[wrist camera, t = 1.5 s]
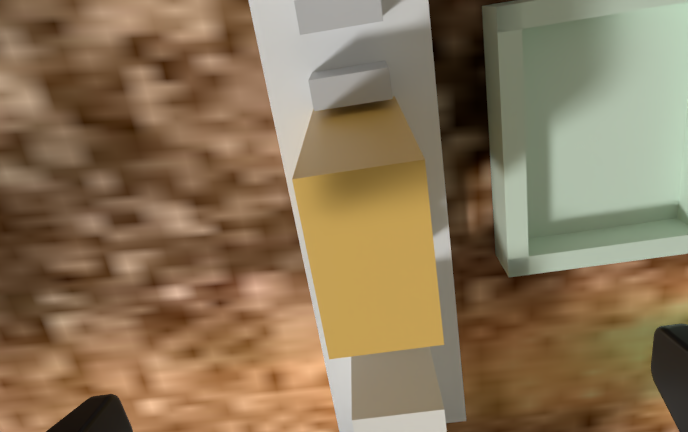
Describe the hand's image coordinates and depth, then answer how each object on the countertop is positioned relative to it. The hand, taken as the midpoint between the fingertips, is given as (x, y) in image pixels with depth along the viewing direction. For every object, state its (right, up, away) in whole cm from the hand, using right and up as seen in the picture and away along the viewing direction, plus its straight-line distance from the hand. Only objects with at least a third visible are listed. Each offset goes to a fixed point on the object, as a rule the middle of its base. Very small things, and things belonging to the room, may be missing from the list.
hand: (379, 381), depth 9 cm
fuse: (+2, -4, +15) cm, 15 cm away
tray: (+9, +6, +12) cm, 16 cm away
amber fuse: (0, +5, +11) cm, 12 cm away
